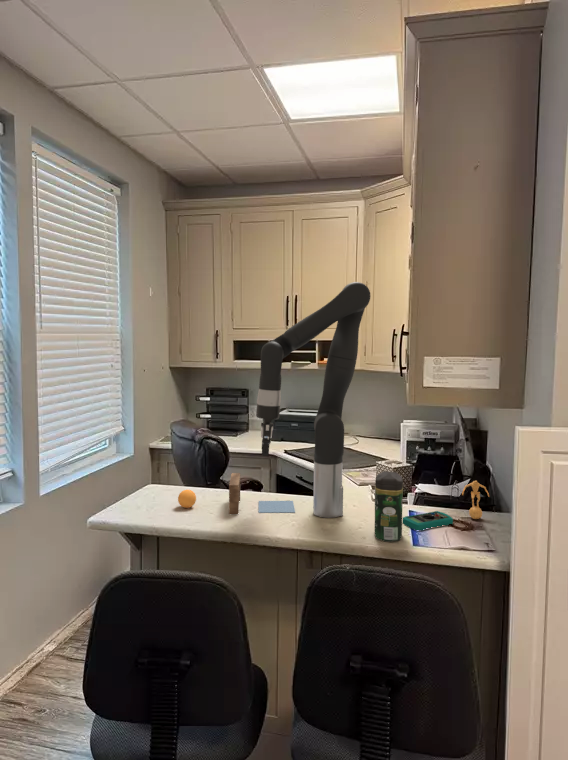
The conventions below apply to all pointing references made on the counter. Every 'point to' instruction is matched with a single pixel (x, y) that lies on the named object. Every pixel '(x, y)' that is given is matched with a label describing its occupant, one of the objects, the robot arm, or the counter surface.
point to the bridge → (234, 493)
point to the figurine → (475, 510)
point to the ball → (187, 498)
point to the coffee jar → (388, 506)
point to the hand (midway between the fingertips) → (264, 452)
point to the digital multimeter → (427, 520)
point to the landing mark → (276, 507)
